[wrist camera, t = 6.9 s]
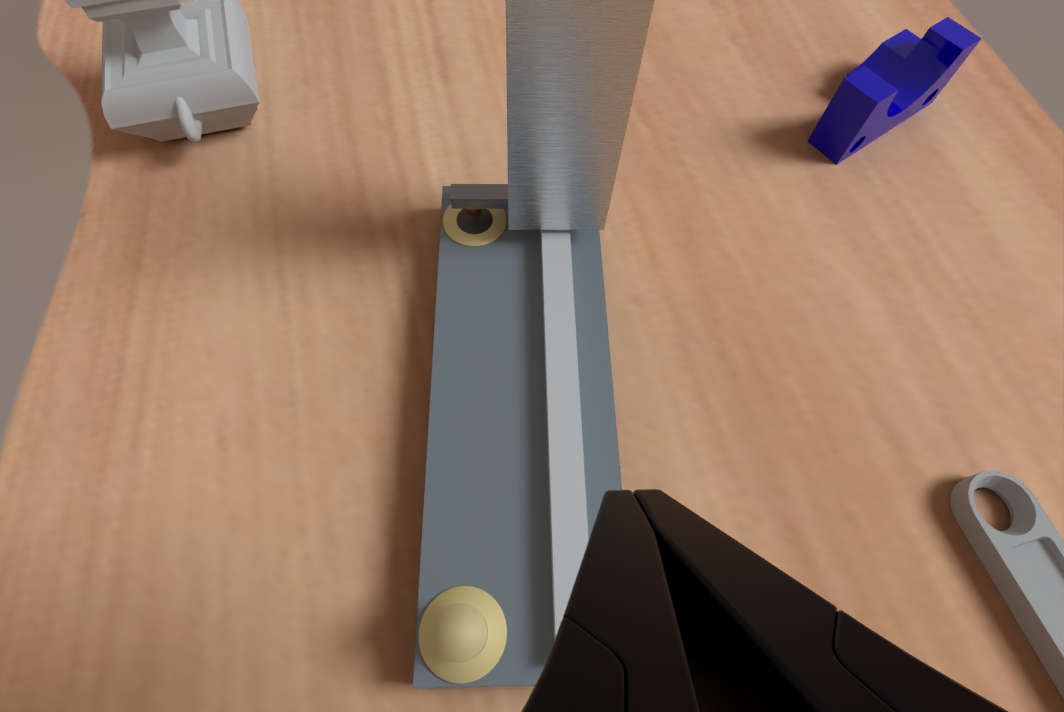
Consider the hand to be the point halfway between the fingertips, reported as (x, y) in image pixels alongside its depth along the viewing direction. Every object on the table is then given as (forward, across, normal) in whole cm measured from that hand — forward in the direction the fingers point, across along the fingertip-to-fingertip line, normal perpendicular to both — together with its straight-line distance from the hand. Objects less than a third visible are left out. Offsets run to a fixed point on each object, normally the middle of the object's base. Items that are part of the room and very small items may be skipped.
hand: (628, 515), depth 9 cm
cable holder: (+26, -17, -7) cm, 32 cm away
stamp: (+26, +18, -8) cm, 32 cm away
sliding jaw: (+19, +1, -3) cm, 19 cm away
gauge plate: (+14, +1, +4) cm, 15 cm away
